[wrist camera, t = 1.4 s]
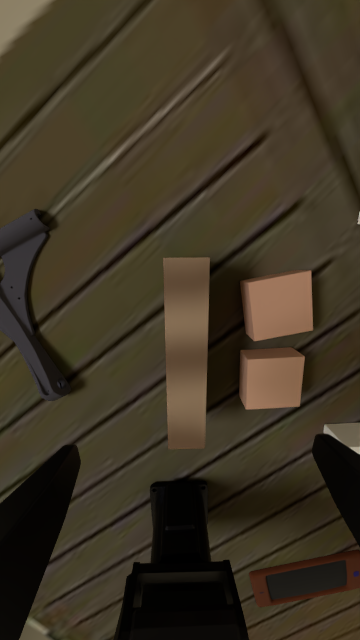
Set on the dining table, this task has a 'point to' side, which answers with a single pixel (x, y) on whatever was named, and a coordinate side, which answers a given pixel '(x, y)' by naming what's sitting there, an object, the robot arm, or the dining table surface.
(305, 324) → the tile
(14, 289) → the bracket
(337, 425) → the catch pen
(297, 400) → the tile
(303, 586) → the smartphone
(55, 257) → the dining table surface
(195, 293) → the bar
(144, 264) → the dining table surface
